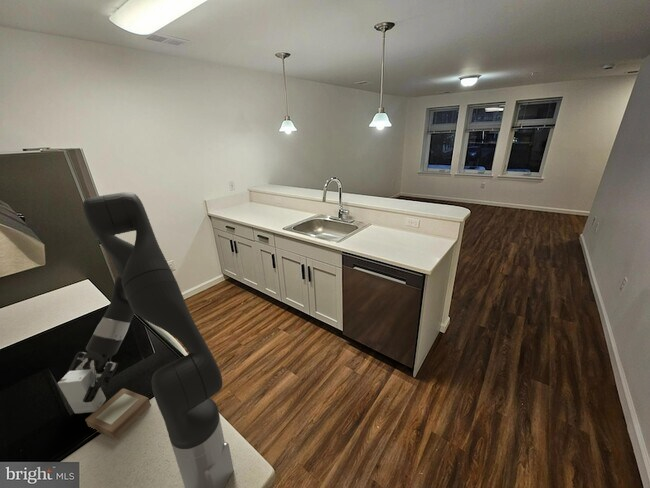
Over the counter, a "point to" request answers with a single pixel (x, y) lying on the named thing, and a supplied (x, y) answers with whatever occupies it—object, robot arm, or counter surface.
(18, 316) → the counter surface
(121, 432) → the walnut plinth
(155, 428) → the counter surface
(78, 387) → the skincare box
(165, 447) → the counter surface
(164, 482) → the counter surface
